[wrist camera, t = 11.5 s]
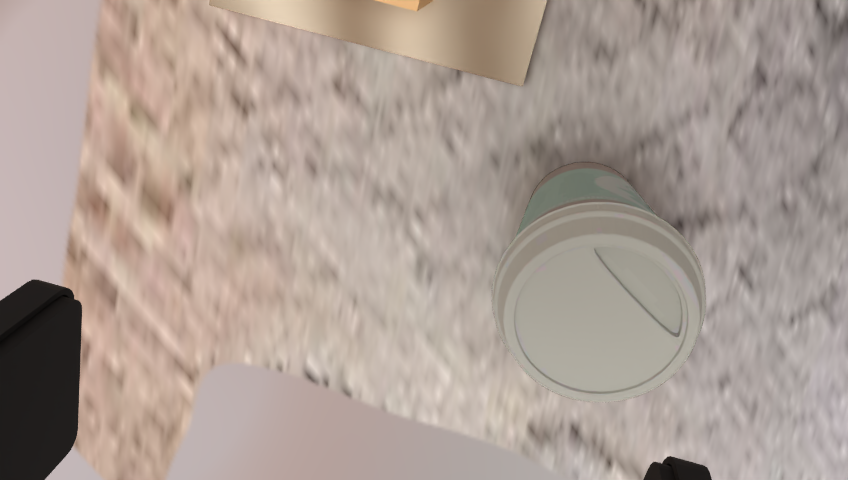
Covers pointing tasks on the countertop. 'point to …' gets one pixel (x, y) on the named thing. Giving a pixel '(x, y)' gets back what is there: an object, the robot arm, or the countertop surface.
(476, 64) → the post board
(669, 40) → the countertop surface
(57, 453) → the robot arm
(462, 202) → the countertop surface
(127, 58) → the countertop surface
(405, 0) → the tan matte cube
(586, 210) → the coffee cup
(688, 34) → the countertop surface
